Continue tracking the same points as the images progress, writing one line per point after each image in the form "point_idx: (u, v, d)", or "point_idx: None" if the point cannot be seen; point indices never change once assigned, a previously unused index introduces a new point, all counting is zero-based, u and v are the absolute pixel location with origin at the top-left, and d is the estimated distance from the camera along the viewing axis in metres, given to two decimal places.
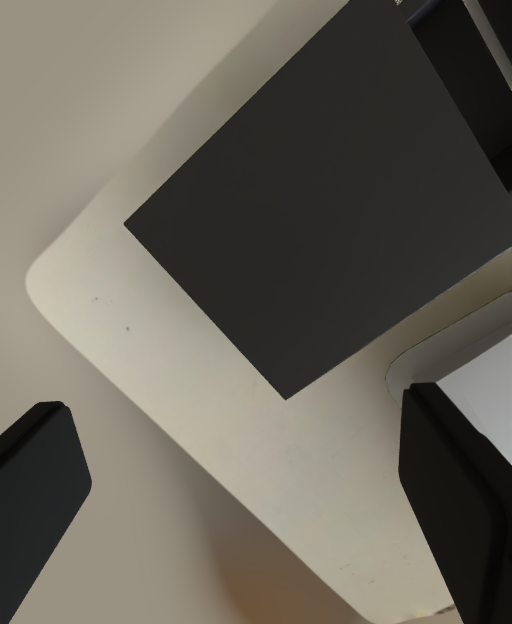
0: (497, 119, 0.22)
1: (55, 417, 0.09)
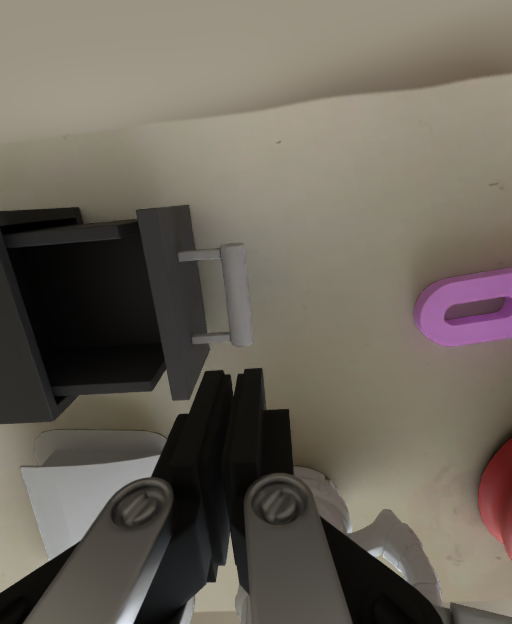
0: (156, 322, 0.28)
1: (226, 383, 0.10)
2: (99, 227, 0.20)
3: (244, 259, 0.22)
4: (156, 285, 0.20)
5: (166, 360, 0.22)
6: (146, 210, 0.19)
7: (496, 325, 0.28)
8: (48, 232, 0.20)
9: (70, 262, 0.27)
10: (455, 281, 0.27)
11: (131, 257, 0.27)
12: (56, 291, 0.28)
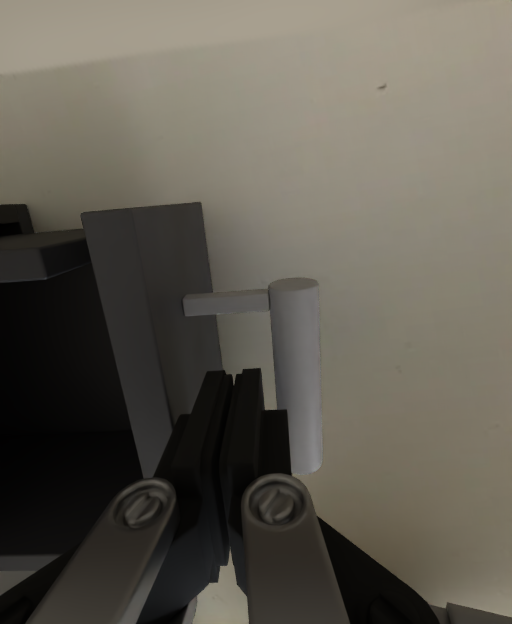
0: None
1: (228, 383, 0.10)
2: None
3: (318, 313, 0.11)
4: (134, 384, 0.09)
5: None
6: (106, 214, 0.08)
7: None
8: None
9: None
10: None
11: None
12: None
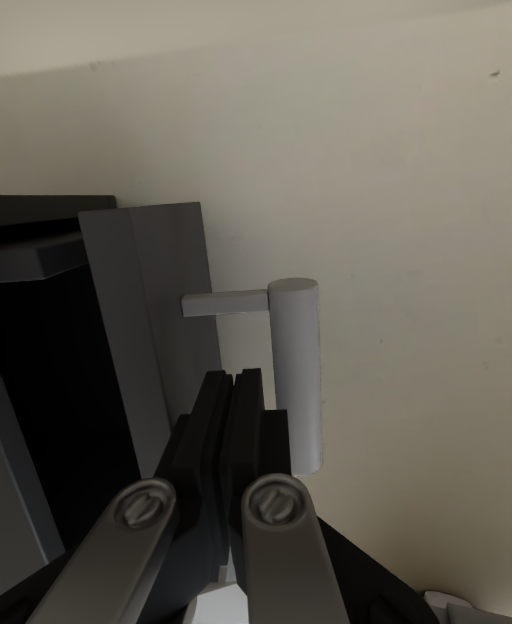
0: None
1: (228, 383, 0.10)
2: None
3: (317, 313, 0.11)
4: (132, 385, 0.09)
5: None
6: (103, 213, 0.07)
7: None
8: None
9: None
10: None
11: None
12: None
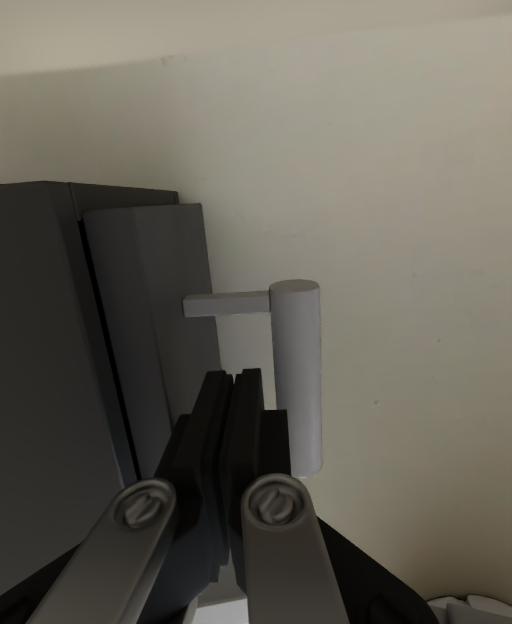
0: None
1: (228, 383, 0.10)
2: None
3: (319, 315, 0.11)
4: (133, 384, 0.09)
5: None
6: (107, 212, 0.07)
7: None
8: None
9: None
10: None
11: (99, 294, 0.15)
12: None
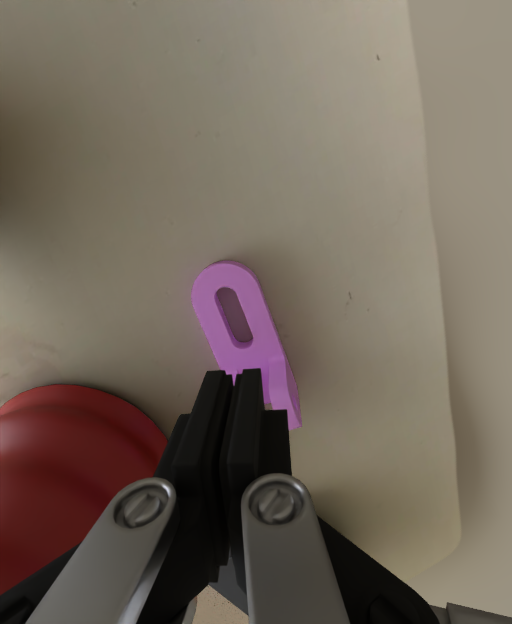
0: None
1: (228, 383, 0.10)
2: None
3: None
4: None
5: None
6: None
7: (223, 338, 0.28)
8: None
9: None
10: (259, 287, 0.27)
11: None
12: None
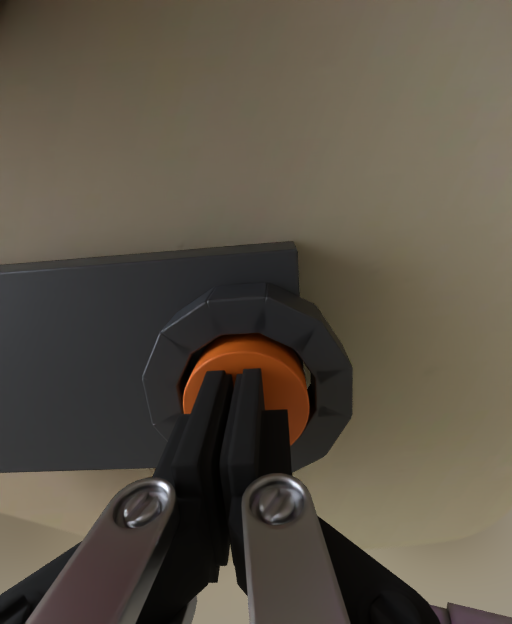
0: None
1: (228, 383, 0.10)
2: None
3: None
4: None
5: None
6: None
7: None
8: None
9: None
10: None
11: None
12: None
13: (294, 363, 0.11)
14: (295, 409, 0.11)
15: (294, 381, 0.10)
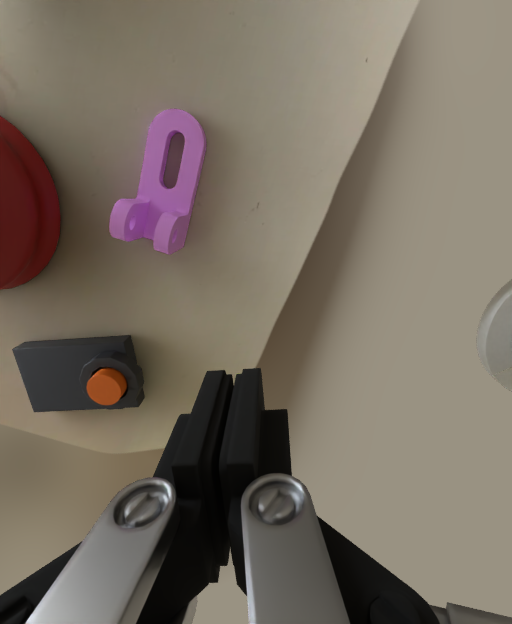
0: None
1: (228, 383, 0.10)
2: None
3: None
4: None
5: None
6: None
7: (155, 169, 0.34)
8: None
9: None
10: (203, 150, 0.34)
11: None
12: None
13: (117, 377, 0.39)
14: (117, 390, 0.38)
15: (115, 382, 0.38)
